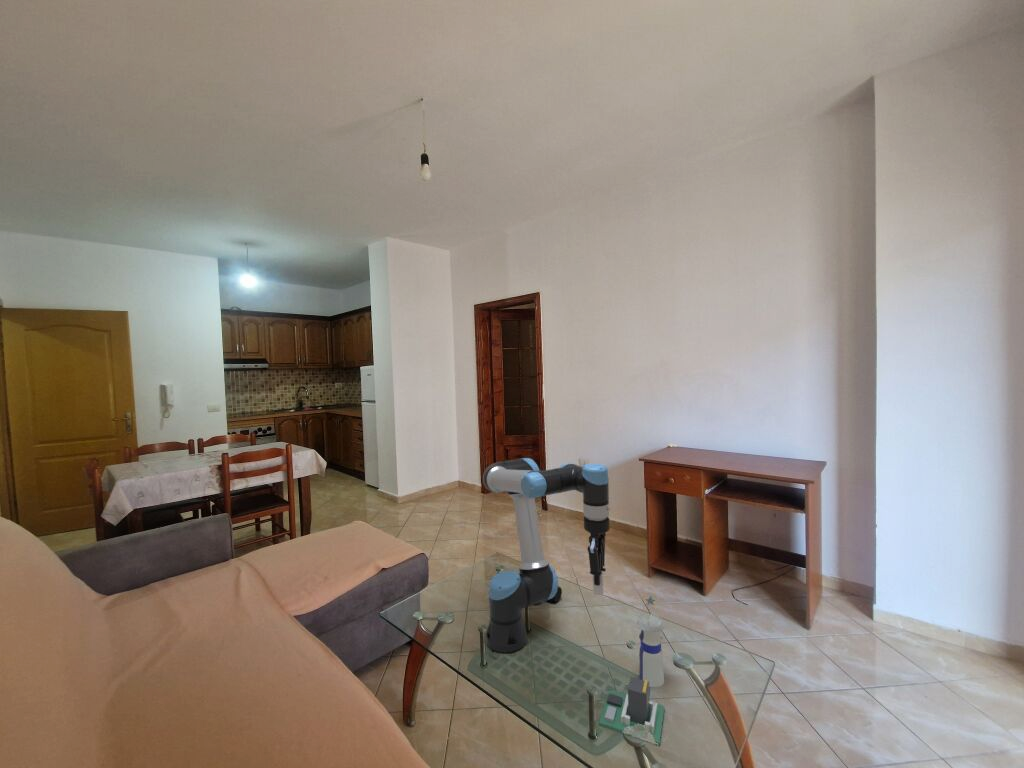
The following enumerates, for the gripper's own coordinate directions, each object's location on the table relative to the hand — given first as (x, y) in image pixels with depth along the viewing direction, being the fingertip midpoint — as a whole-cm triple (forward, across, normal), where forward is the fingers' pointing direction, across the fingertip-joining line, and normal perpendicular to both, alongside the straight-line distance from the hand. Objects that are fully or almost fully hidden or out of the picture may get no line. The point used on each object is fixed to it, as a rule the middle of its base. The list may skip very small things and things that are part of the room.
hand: (598, 593), depth 126 cm
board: (+32, -4, -10) cm, 34 cm away
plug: (+31, -4, -12) cm, 33 cm away
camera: (+33, +44, +34) cm, 65 cm away
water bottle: (+32, +14, -13) cm, 37 cm away
